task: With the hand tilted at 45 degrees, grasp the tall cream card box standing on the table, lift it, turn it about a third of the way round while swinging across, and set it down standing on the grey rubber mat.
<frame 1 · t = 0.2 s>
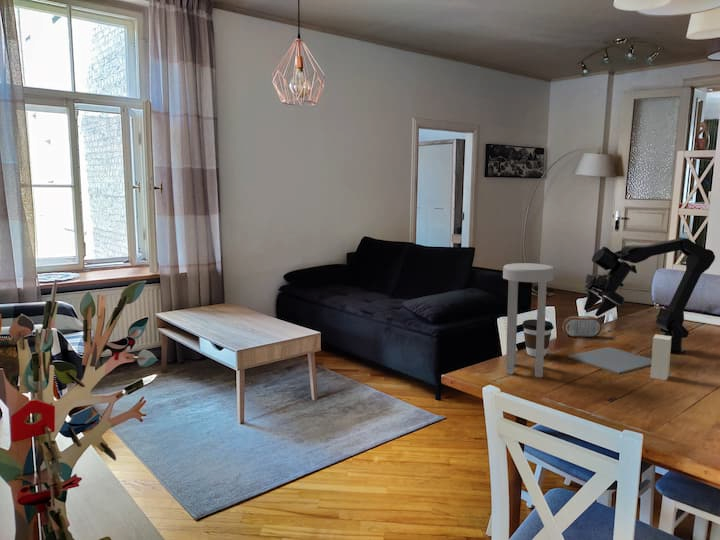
hand: (590, 312, 191), 15 cm above the table, tool tilted 35°, fingers open, 9 cm apart
stool: (524, 370, 175), on the table
coffee cup: (536, 355, 191), on the table
mat: (613, 360, 184), on the table
card box: (659, 376, 167), on the table
tin: (581, 337, 214), on the table
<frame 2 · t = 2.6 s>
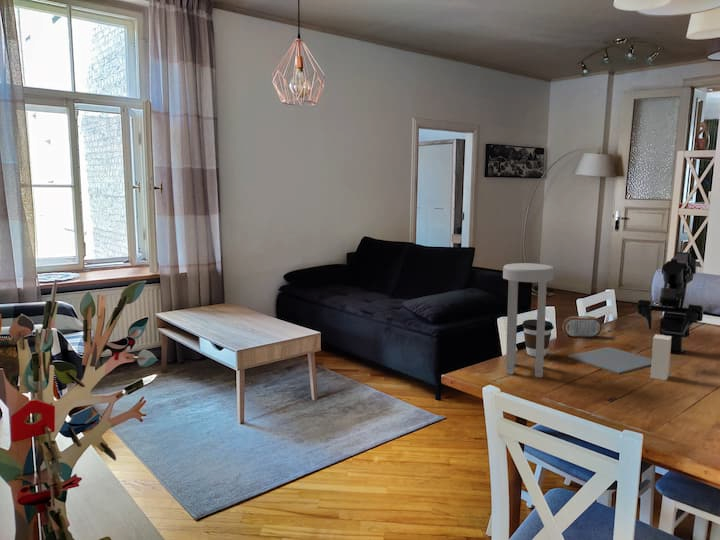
hand: (665, 331, 171), 13 cm above the table, tool tilted 45°, fingers open, 9 cm apart
nothing on the table moved.
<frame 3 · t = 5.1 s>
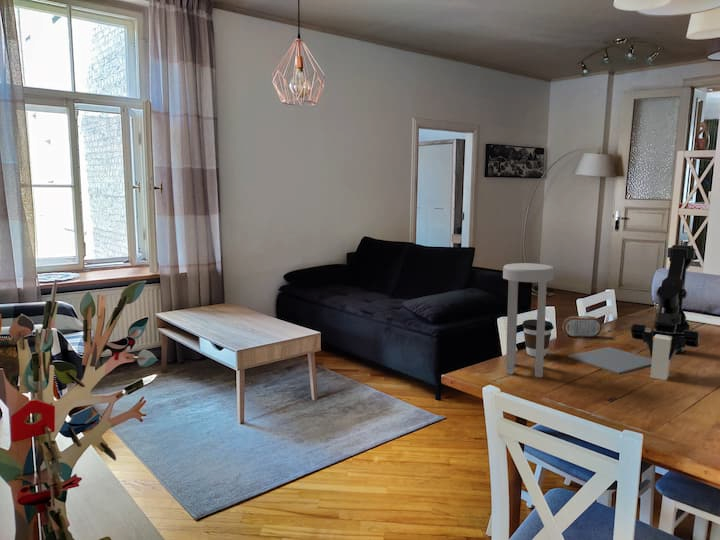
hand: (660, 357, 165), 7 cm above the table, tool tilted 45°, fingers closed on card box, 5 cm apart
card box: (659, 376, 167), on the table, touching gripper
everything else where it was.
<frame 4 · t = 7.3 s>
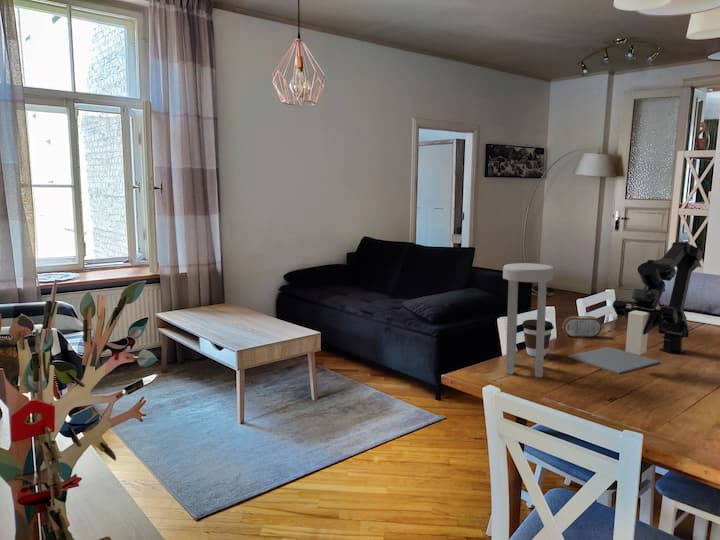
hand: (635, 332, 169), 13 cm above the table, tool tilted 45°, fingers closed on card box, 4 cm apart
card box: (635, 351, 171), point 7 cm above the table, touching gripper
everything else where it was.
when the fingers open (8 cm above the table, at t = 9.8 s): card box drops 1 cm, resting on mat.
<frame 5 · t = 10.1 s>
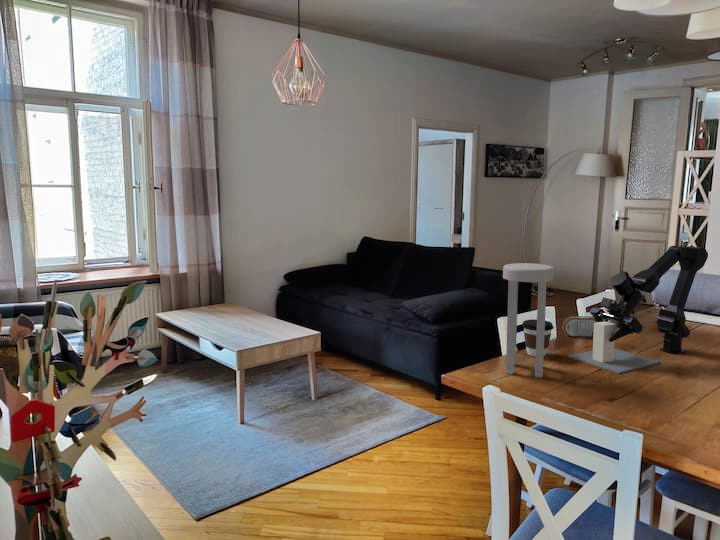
hand: (600, 338, 180), 9 cm above the table, tool tilted 45°, fingers open, 7 cm apart
card box: (603, 360, 182), point 1 cm above the table, touching mat
everything else where it was.
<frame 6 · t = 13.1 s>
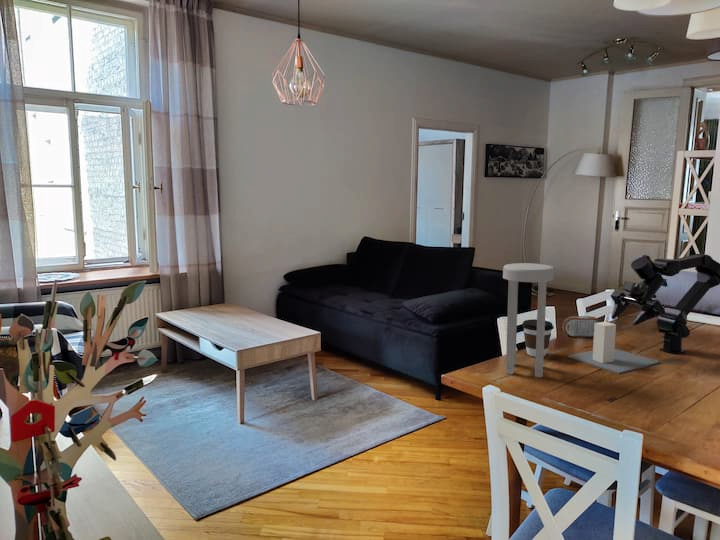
hand: (622, 321, 183), 14 cm above the table, tool tilted 45°, fingers open, 9 cm apart
nothing on the table moved.
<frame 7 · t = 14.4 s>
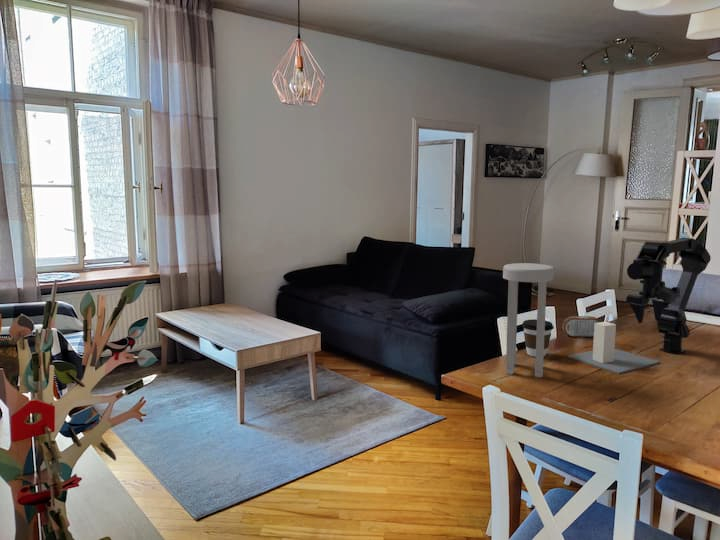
hand: (648, 321, 185), 13 cm above the table, tool pointing down, fingers open, 9 cm apart
nothing on the table moved.
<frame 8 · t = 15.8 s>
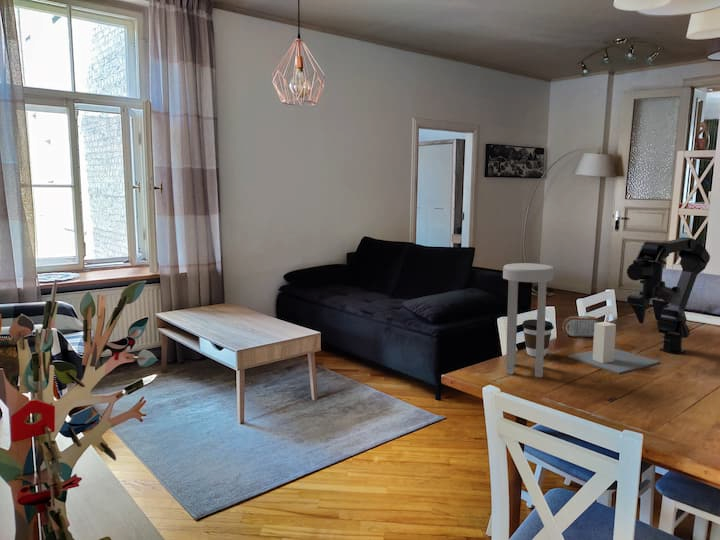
hand: (649, 321, 185), 13 cm above the table, tool pointing down, fingers open, 9 cm apart
nothing on the table moved.
at the end: card box inside the target area on the mat (0.1 cm from its centre), point 0.6 cm above the mat's base; card box tilted 0°; card box touching mat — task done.
